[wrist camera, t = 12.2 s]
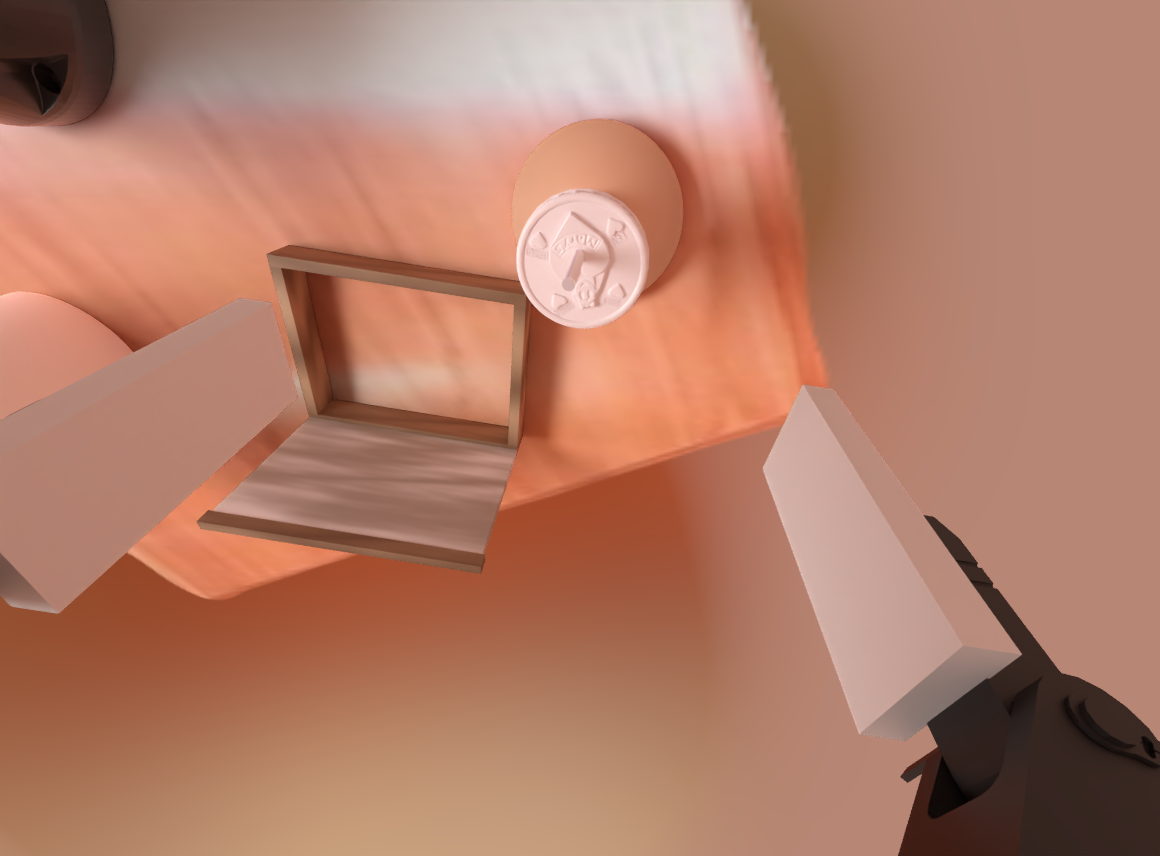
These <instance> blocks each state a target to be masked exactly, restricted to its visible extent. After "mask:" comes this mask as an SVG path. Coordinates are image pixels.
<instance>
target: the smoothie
mask: <svg viewBox="0 0 1160 856" xmlns="http://www.w3.org/2000/svg"><path fill="white" fill-rule="evenodd" d="M516 265H517V272H518V277H519V280H520V283H521V286H522V288H523V290H524V292H525V294H526V296H527V297H528V299H529V300H530V301H531V303H532V304H533V305H534V306H535V307H536V308H537V309H538V310H539V311H540V312H541V313H542V314H543V315H545V316H546V317H548V318H549V319H551V320H553V321H555V322H557V323H559V324H562V325H564V326H568V327H573V328H595V327H600V326H603V325H606V324H609V323H611V322H613V321H615V320H617V319H618V318H620V317H621V316H622V315H624V314H625V313H626V312H627V311H628V310H629V309H630V308H631V307H632V306H633V305H634V304H635V302H636V301H637V299H638V298H639V296H640V294H641V292H642V290H643V288H644V285H645V282H646V278H647V273H648V269H649V247H648V243H647V239H646V235H645V231H644V230H643V228H642V226H641V224H640V222H639V220H638V218H637V217H636V215H635V214H634V213H633V212H632V211H631V210H630V209H629V208H628V207H627V206H626V205H625V204H624V203H623V202H622V201H620V200H618V199H617V198H615V197H613V196H611V195H610V194H608V193H606V192H602V191H597V190H593V189H589V188H585V189H569V190H567V191H564V192H561V193H558V194H556V195H553V196H551V197H550V198H549V199H547V200H546V201H545V202H543V203H542V204H541V205H539V206H538V207H537V208H536V210H535V211H534V212H533V214H532V215H531V216H530V218H529V219H528V220H527V222H526V224H525V226H524V228H523V230H522V232H521V235H520V238H519V241H518V246H517V253H516Z"/></svg>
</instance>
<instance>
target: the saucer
mask: <svg viewBox="0 0 1160 856" xmlns="http://www.w3.org/2000/svg"><path fill="white" fill-rule="evenodd" d="M585 188H589V189H593V190H597V191H602V192H606V193H608V194H610V195H611V196H613V197H615V198H617V199H618V200H620V201H622V202H623V203H624V204H625V205H626V206H627V207H628V208H629V209H630V210H631V211H632V212H633V213H634V214H635V215H636V217H637V218H638V220H639V222H640V224H641V226H642V228H643V230H644V231H645V235H646V239H647V243H648V247H649V269H648V273H647V278H646V282H645V285H644V288H643V290H642V292H643V291H644V290H646V289H647V288H648V287H649V286H651V285H652V284H653V283H654V282H655V281H656V280H657V279H658V278H659V277H660V276H661V274H662V273H663V272H664V270H665V269H666V268H667V266H668V265H669V263H670V261H671V260H672V258H673V256H674V253H675V251H676V249H677V246H678V243H679V240H680V237H681V232H682V226H683V213H684V210H683V198H682V193H681V188H680V184H679V181H678V178H677V175H676V173H675V171H674V169H673V167H672V165H671V163H670V161H669V160H668V158H667V157H666V155H665V154H664V152H663V151H662V150H661V149H660V147H659V146H658V145H657V144H656V143H655V142H654V141H653V140H652V139H651V138H649V137H648V136H647V135H646V134H645V133H643V132H641V131H640V130H638V129H636V128H635V127H633V126H630V125H628V124H625V123H623V122H619V121H614V120H609V119H590V120H584V121H580V122H576V123H572V124H570V125H568V126H565V127H563V128H561V129H559V130H557V131H556V132H554V133H552V134H551V135H550V136H548V137H547V138H546V139H545V140H543V141H542V142H541V143H540V144H539V145H538V146H537V147H536V149H535V150H534V151H533V152H532V153H531V155H530V156H529V158H528V159H527V160H526V162H525V164H524V166H523V168H522V170H521V172H520V174H519V177H518V179H517V182H516V185H515V189H514V194H513V200H512V225H513V233H514V236H515V240H516V244H517V246H518V241H519V238H520V235H521V232H522V230H523V228H524V226H525V224H526V222H527V220H528V219H529V218H530V216H531V215H532V214H533V212H534V211H535V210H536V208H537V207H538V206H539V205H541V204H542V203H543V202H545V201H546V200H547V199H549V198H550V197H551V196H553V195H556V194H558V193H561V192H564V191H567V190H569V189H585Z"/></svg>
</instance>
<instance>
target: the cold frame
mask: <svg viewBox="0 0 1160 856" xmlns="http://www.w3.org/2000/svg"><path fill="white" fill-rule="evenodd" d="M267 258H268V262H269V266H270V270H271V273H272V277H273V281H274V285H275V289H276V292H277V296H278V300H279V304H280V307H281V311H282V315H283V319H284V323H285V326H286V330H287V334H288V338H289V342H290V345H291V349H292V353H293V357H294V360H295V364H296V368H297V372H298V376H299V379H300V383H301V387H302V391H303V395H304V398H305V402H306V406H307V410H308V414H309V418H308V419H307V420H306V421H305V422H304V423H303V424H302V425H301V426H299V427H298V428H297V429H296V430H295V431H294V432H293V433H292V434H291V435H290V436H289V437H288V438H287V439H286V440H285V441H284V442H283V443H282V444H281V445H280V446H279V447H278V448H277V449H276V450H275V451H274V452H273V453H272V454H270V455H269V456H268V457H267V458H266V459H265V460H264V461H263V462H262V463H261V464H260V465H259V466H258V467H257V468H256V469H255V470H254V471H253V472H252V473H251V474H250V475H249V476H248V477H247V478H246V479H245V480H244V481H243V482H241V483H240V484H239V485H238V486H237V487H236V488H235V489H234V490H233V491H232V492H231V493H230V494H229V495H228V496H227V497H226V498H225V499H224V500H223V501H222V502H221V503H220V504H219V505H218V506H217V507H216V508H215V509H214V510H212V511H210V510H208V511H207V512H206V513H205V514H204V515H203V516H202V517H201V518H200V519H199V520H198V521H197V523H198V525H199V527H200V529H204V530H211V531H217V532H223V533H229V534H236V535H242V536H248V537H254V538H261V539H267V540H273V541H279V542H286V543H292V544H298V545H304V546H311V547H317V548H323V549H329V550H336V551H342V552H348V553H354V554H361V555H367V556H374V557H379V558H386V559H392V560H398V561H404V562H411V563H417V564H423V565H430V566H436V567H442V568H449V569H454V570H461V571H467V572H473V573H480V574H481V572H482V569H483V566H484V563H485V554H484V553H485V550H486V547H487V544H488V541H489V538H490V534H491V532H492V529H493V525H494V523H495V519H496V516H497V513H498V510H499V507H500V504H501V501H502V498H503V495H504V492H505V489H506V486H507V483H508V480H509V477H510V474H511V471H512V468H513V465H514V462H515V459H516V456H517V452H518V449H519V446H520V443H521V439H522V436H523V422H524V407H525V392H526V377H527V362H528V347H529V333H530V318H531V301H530V300H529V299H528V297H527V296H526V294H525V292H524V290H523V288H522V286H521V283H520V282H519V281H513V280H507V279H500V278H494V277H488V276H481V275H475V274H469V273H462V272H456V271H450V270H443V269H437V268H431V267H424V266H418V265H412V264H405V263H399V262H393V261H386V260H380V259H374V258H367V257H361V256H355V255H348V254H342V253H336V252H329V251H323V250H317V249H310V248H304V247H298V246H291V245H288V246H285V247H283V248H280V249H278V250H275V251H273V252H271V253H268V254H267ZM305 272H311V273H317V274H323V275H330V276H336V277H342V278H349V279H355V280H361V281H368V282H374V283H380V284H387V285H393V286H399V287H406V288H412V289H418V290H425V291H431V292H437V293H444V294H450V295H456V296H463V297H469V298H475V299H481V300H488V301H494V302H500V303H507V304H513V305H514V321H513V343H512V366H511V388H510V411H509V427H505V426H499V425H492V424H486V423H480V422H473V421H467V420H461V419H455V418H448V417H442V416H436V415H429V414H423V413H417V412H411V411H404V410H398V409H392V408H385V407H379V406H373V405H366V404H360V403H354V402H348V401H341V400H335V399H333V396H332V391H331V387H330V382H329V378H328V373H327V369H326V364H325V360H324V355H323V351H322V346H321V342H320V337H319V332H318V328H317V323H316V319H315V314H314V310H313V305H312V301H311V296H310V292H309V287H308V283H307V278H306V274H305Z"/></svg>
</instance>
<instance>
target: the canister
mask: <svg viewBox="0 0 1160 856" xmlns="http://www.w3.org/2000/svg"><path fill="white" fill-rule="evenodd" d="M131 353H133V351H132V350H131V349H130V348H129V347H128V346H127V345H126V344H125V343H124V342H123V341H122V340H121V339H120V338H119V337H118V336H117V335H116V334H115V333H113V332H112V331H111V330H110V329H109V328H107V327H106V326H105V325H104V324H102V323H101V322H99V321H98V320H97V319H95V318H94V317H92V316H91V315H89V314H87V313H86V312H84V311H82V310H80V309H79V308H77V307H75V306H73V305H71V304H69V303H66V302H64V301H62V300H59V299H56V298H54V297H51V296H47V295H44V294H39V293H34V292H12V293H8V294H5V295H1V296H0V420H2V419H4V418H6V417H7V416H9V415H11V414H12V413H14V412H16V411H18V410H20V409H22V408H24V407H26V406H28V405H30V404H32V403H34V402H36V401H38V400H41V399H43V398H45V397H47V396H49V395H51V394H53V393H55V392H57V391H59V390H61V389H63V388H65V387H66V386H68V385H70V384H72V383H74V382H76V381H78V380H80V379H82V378H84V377H86V376H88V375H90V374H92V373H94V372H96V371H98V370H100V369H102V368H104V367H106V366H108V365H110V364H112V363H114V362H115V361H117V360H119V359H121V358H123V357H125V356H127V355H129V354H131Z"/></svg>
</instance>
